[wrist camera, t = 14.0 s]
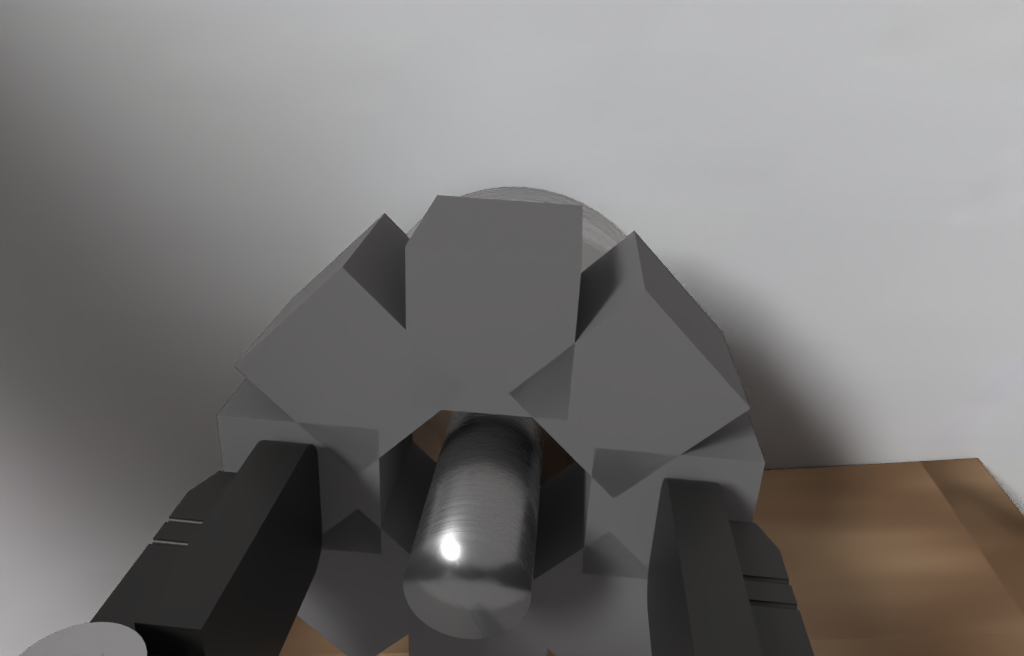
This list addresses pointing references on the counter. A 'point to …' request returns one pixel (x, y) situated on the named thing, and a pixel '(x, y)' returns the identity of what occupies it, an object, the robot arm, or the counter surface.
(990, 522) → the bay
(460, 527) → the axle mount
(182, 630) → the robot arm
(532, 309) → the wheel
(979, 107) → the counter surface
